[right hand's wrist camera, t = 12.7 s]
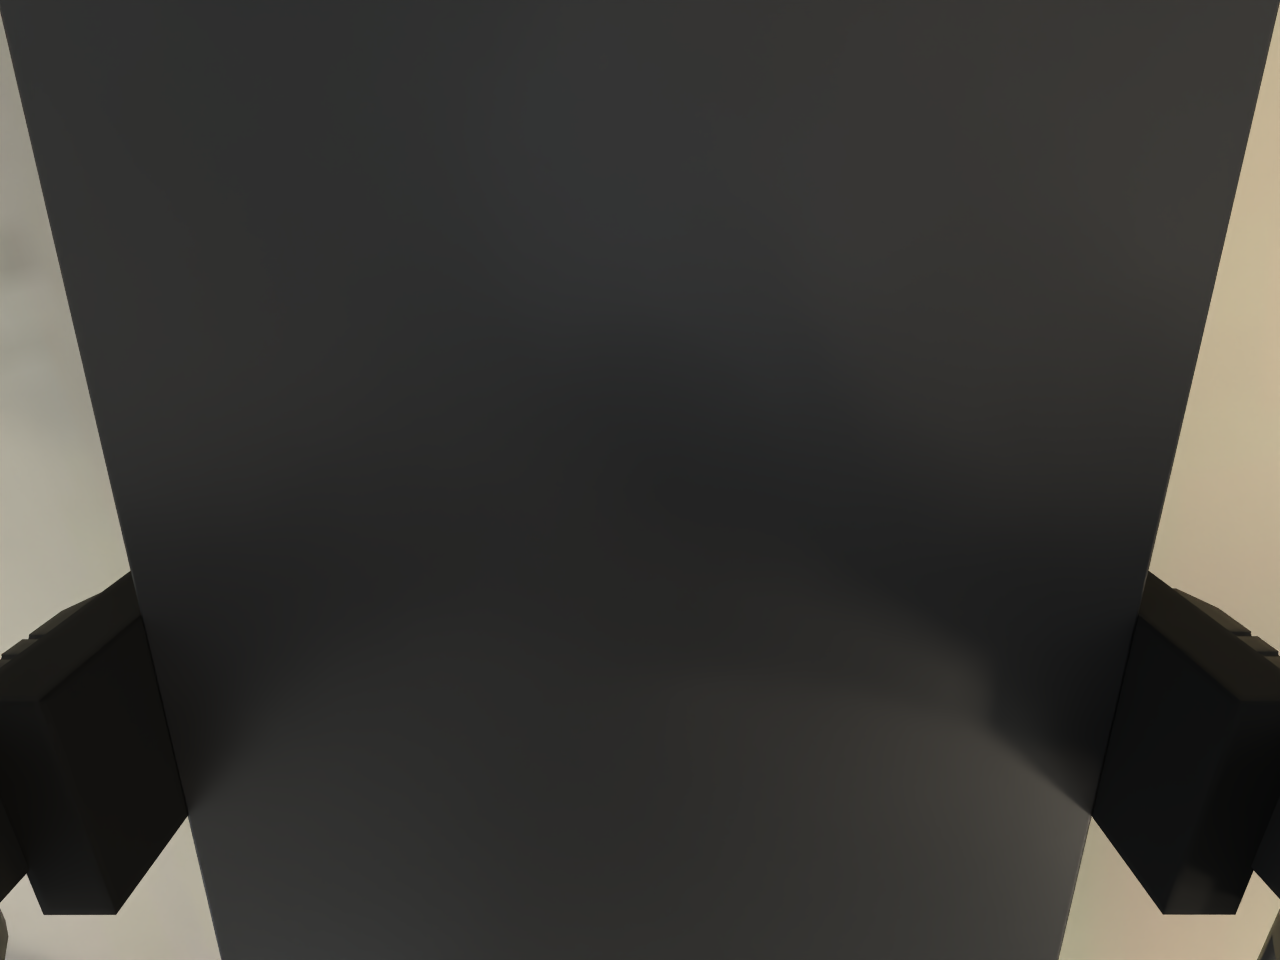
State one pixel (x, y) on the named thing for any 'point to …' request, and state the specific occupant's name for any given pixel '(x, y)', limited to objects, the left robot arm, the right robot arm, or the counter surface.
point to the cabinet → (639, 446)
